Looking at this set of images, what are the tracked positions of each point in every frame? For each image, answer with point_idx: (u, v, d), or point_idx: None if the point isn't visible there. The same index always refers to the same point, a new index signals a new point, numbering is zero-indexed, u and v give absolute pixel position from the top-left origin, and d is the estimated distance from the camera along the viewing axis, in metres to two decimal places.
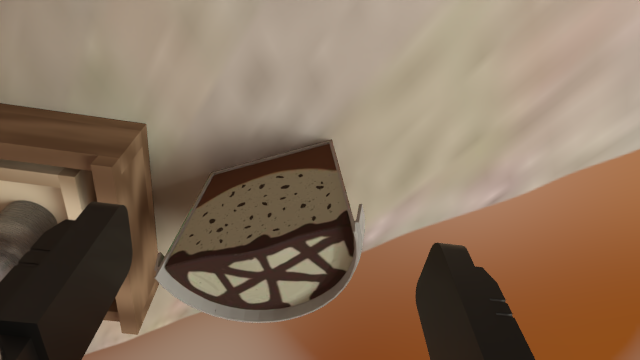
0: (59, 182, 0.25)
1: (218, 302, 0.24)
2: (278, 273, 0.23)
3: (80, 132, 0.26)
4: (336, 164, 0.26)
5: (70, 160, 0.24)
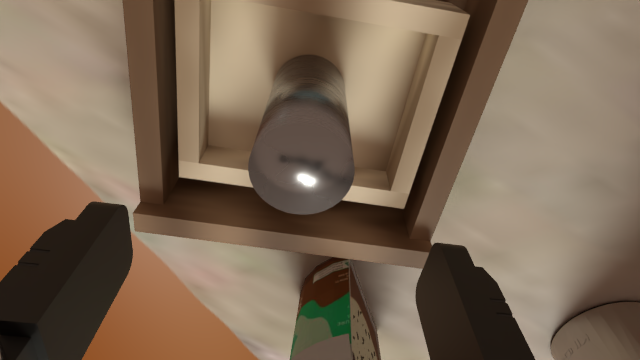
0: (398, 192, 0.21)
1: None
2: None
3: None
4: None
5: (428, 216, 0.22)
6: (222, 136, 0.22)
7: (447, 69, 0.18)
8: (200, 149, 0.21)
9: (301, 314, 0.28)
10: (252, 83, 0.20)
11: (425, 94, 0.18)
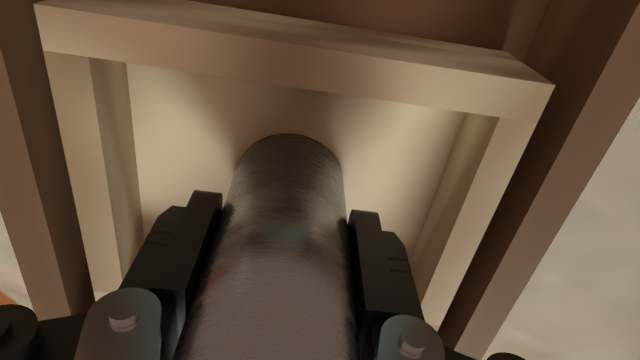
0: None
1: None
2: None
3: None
4: None
5: (467, 353, 0.15)
6: None
7: (510, 166, 0.11)
8: None
9: None
10: (202, 173, 0.13)
11: (472, 201, 0.12)
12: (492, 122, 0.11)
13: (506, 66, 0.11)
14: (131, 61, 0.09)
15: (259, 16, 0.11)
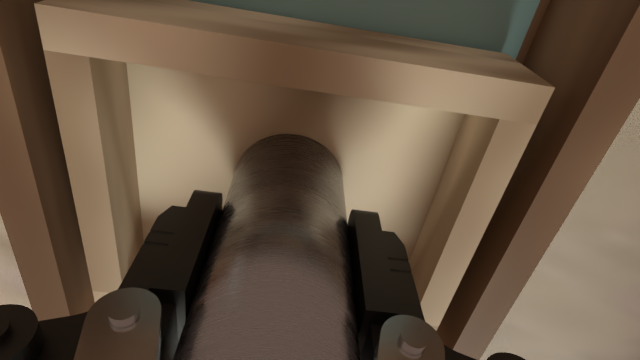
0: None
1: None
2: None
3: None
4: None
5: None
6: None
7: (509, 168, 0.11)
8: (126, 272, 0.14)
9: None
10: (202, 173, 0.13)
11: (472, 201, 0.12)
12: (492, 124, 0.11)
13: (506, 68, 0.11)
14: (132, 61, 0.09)
15: (260, 17, 0.11)
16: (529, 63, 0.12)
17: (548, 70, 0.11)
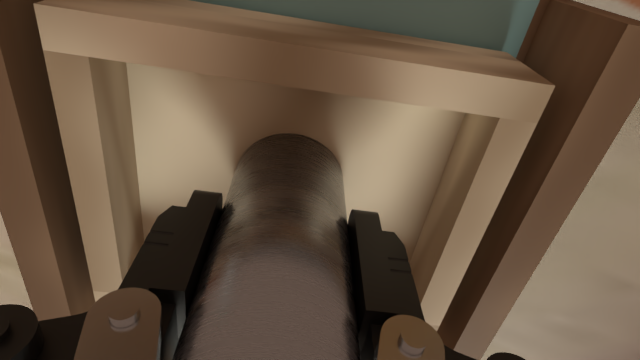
0: None
1: None
2: None
3: None
4: None
5: None
6: None
7: (509, 166, 0.11)
8: (126, 272, 0.14)
9: None
10: (202, 173, 0.13)
11: (472, 200, 0.12)
12: (492, 122, 0.11)
13: (506, 66, 0.11)
14: (131, 61, 0.09)
15: (259, 16, 0.11)
16: None
17: None
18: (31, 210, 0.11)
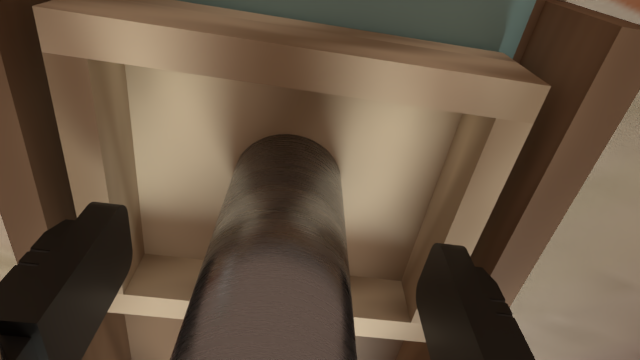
0: None
1: None
2: None
3: None
4: None
5: None
6: (164, 242, 0.15)
7: (506, 167, 0.11)
8: None
9: None
10: (201, 173, 0.13)
11: (469, 201, 0.12)
12: (488, 123, 0.11)
13: (502, 67, 0.11)
14: (130, 62, 0.09)
15: (257, 18, 0.11)
16: None
17: None
18: (31, 212, 0.12)
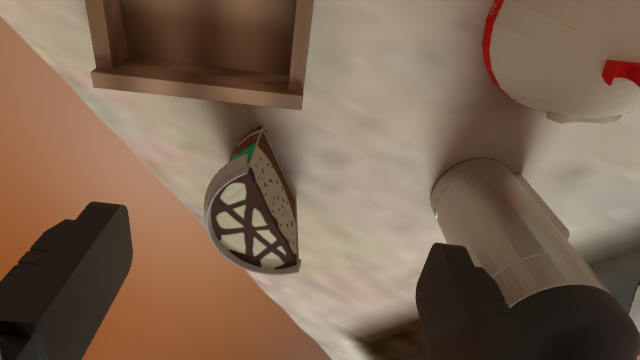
0: None
1: (214, 199, 0.33)
2: (251, 233, 0.35)
3: None
4: (296, 220, 0.41)
5: (297, 70, 0.32)
6: None
7: None
8: None
9: None
10: None
11: None
12: None
13: None
14: None
15: None
16: None
17: None
18: None
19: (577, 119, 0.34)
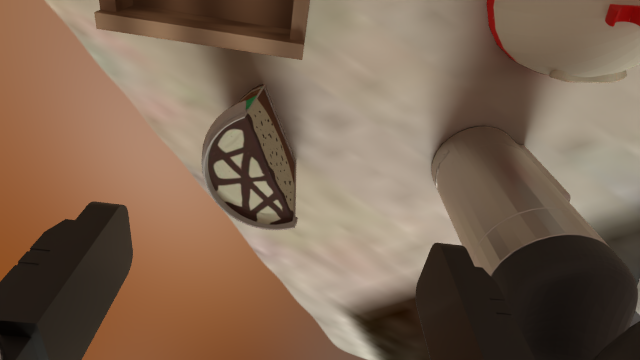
0: None
1: (212, 146, 0.33)
2: (248, 184, 0.35)
3: None
4: (295, 181, 0.41)
5: (299, 18, 0.32)
6: None
7: None
8: None
9: None
10: None
11: None
12: None
13: None
14: None
15: None
16: None
17: None
18: None
19: (581, 79, 0.33)
